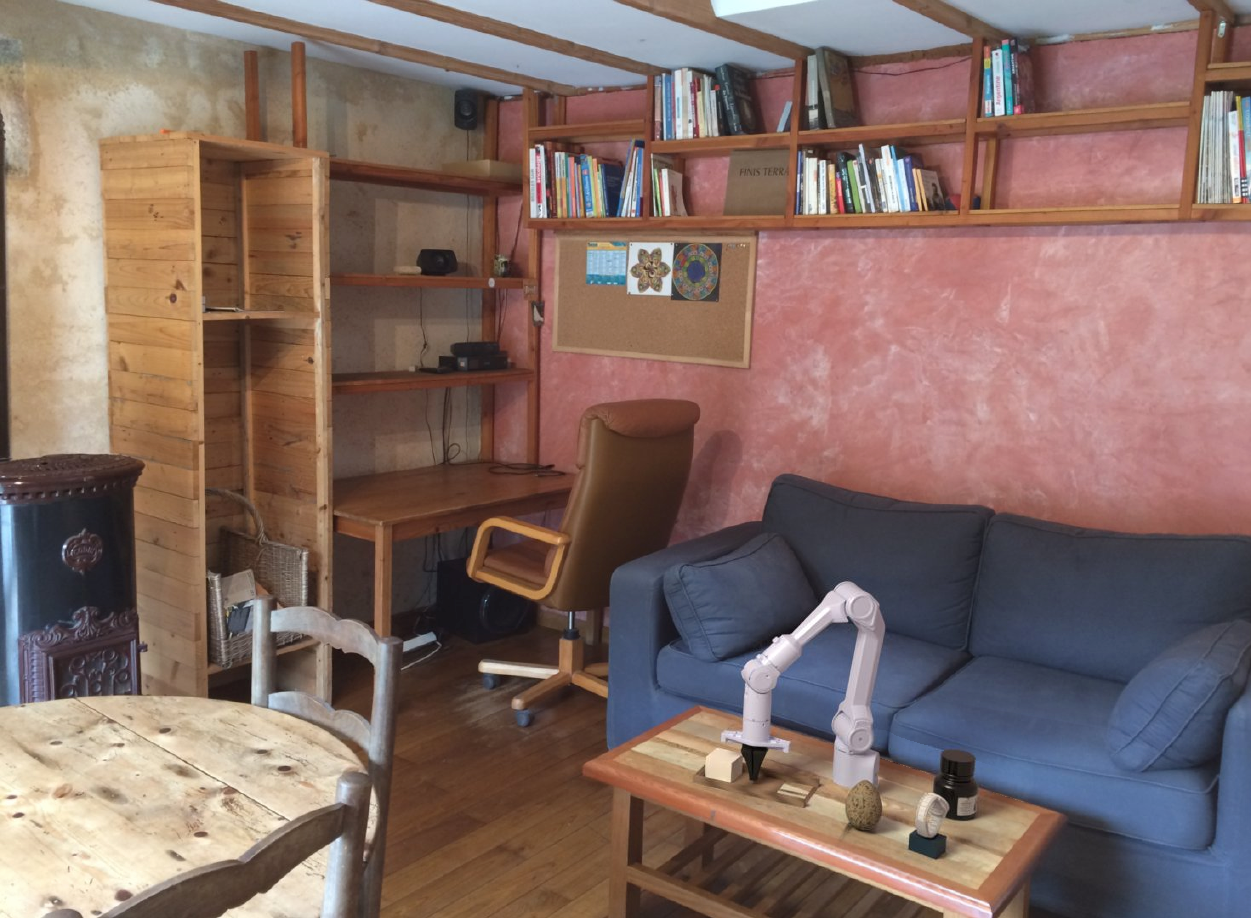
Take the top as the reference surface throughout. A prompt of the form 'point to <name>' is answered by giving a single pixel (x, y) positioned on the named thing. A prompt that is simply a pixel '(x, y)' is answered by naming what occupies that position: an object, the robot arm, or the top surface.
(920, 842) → the watch
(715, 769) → the ivory block
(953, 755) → the ink bottle
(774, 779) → the box
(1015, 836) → the top surface
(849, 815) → the decorative egg
